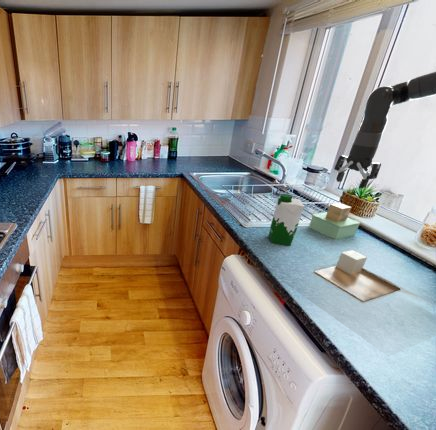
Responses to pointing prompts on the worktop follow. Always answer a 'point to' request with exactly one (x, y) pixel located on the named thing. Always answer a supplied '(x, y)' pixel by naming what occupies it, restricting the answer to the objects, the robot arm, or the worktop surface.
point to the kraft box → (338, 212)
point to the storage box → (333, 226)
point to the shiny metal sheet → (358, 283)
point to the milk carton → (285, 220)
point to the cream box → (351, 262)
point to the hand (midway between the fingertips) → (349, 184)
